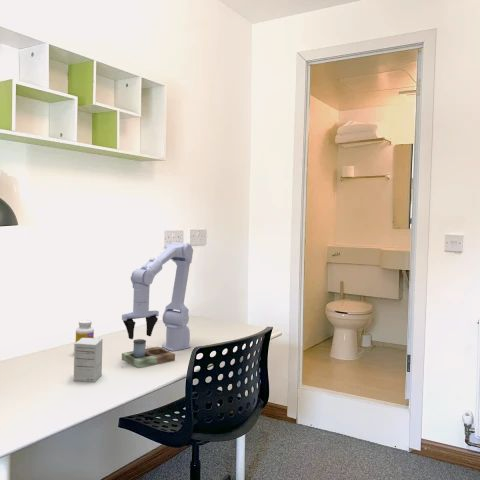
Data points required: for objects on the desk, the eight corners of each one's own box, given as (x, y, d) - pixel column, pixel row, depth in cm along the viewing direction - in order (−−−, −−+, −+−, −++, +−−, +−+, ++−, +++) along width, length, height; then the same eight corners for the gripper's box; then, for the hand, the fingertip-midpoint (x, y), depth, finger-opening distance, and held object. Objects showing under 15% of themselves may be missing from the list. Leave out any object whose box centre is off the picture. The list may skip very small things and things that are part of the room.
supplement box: (80, 373, 163) (81, 337, 162) (102, 374, 163) (103, 338, 162) (72, 381, 156) (73, 343, 155) (95, 382, 155) (96, 344, 155)
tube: (141, 359, 181) (142, 338, 181) (147, 362, 178) (148, 341, 178) (130, 361, 178) (131, 340, 178) (136, 364, 175) (137, 343, 175)
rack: (157, 352, 191) (157, 346, 190) (174, 360, 182) (175, 353, 182) (121, 359, 180) (121, 353, 180) (138, 368, 171) (138, 361, 171)
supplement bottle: (87, 357, 180) (88, 324, 180) (71, 355, 182) (72, 322, 181) (96, 352, 187) (97, 320, 186) (80, 350, 188) (81, 318, 188)
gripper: (152, 297, 185) (151, 332, 185) (118, 301, 175) (117, 337, 176) (162, 300, 179) (160, 336, 180) (127, 304, 170) (126, 341, 170)
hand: (140, 337), depth 178 cm, fingers open, 7 cm apart
